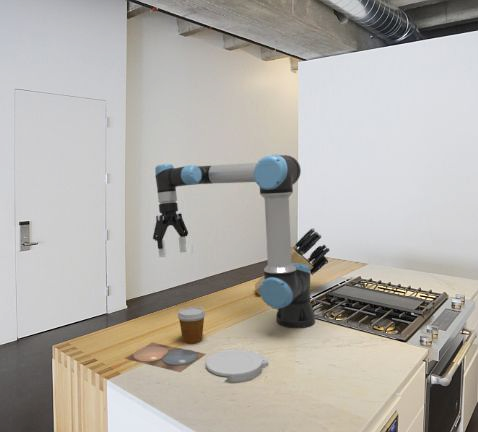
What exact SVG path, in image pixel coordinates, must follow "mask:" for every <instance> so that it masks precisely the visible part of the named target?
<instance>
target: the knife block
mask: <svg viewBox="0 0 478 432" xmlns="http://www.w3.org/2000/svg"><path fill="white" fill-rule="evenodd" d="M320 239H322V235H321V234H320V233H319V232H318V231H316V230H315V228H314V227H312V228H310V229H309V230H308V231H307V232H306V233H305V234H304V235H303V236H302V237H301V238H300V239H299V240H298V241H297V242H296V243H295V245H294V246H291V262H292V263H299V264H306V265H308V266H309V268H310V275H312V276H313V275H314V274H316V273H317V272H318V271H320V270H321V269H322V268H323V267H324V266H325V265H327V264H328V263H329V259H327V257H326V254H328V253H329V252H330V248H329V247H327V245H326V244H323V245H319V246H318V247H316V248H315V249H314V250H313V251H312V252H311V253H310V256H309V257H308V258H306V257H305V256H304V255H305V254H306V253H308V252H309V250H311V249H312V248H313V247H314V246H315V245H316V244H317V242H318V241H320ZM263 281H264V274H263V275H262V276H261V277H260V278H259V280H257V281H256V282H255V283H254V289H255V290H254V291H255V292H256V294H258V295H259V296H260V297H261V295H260V286H261V284H262V282H263Z"/></svg>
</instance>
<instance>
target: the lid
mask: <svg viewBox="0 0 478 432" xmlns="http://www.w3.org/2000/svg"><path fill="white" fill-rule="evenodd" d="M205 367H206V369H207V370H208V371H209V372H210V373H212V374H214V375H216V376H219V377H223V378H224V377H225V378H227V379H225V380H224V382H226V383H241V382H245V381H250V380H251V379H254V378H256V377H257V376H258V375H259V374H261V371H262V370H263V369H264V368H267V367H269V359H268V358H267V356H265V355H262V354H261V353H256V352H255V351H252V350H248V349H243V348H242V349H241V348H240V349H239V348H235V349H232V348H231V349H225V350H220V351H216V352H213V353H212V354H211V355H209V356H208V357H207V359H206V360H205Z"/></svg>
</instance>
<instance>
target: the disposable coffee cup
mask: <svg viewBox="0 0 478 432" xmlns="http://www.w3.org/2000/svg"><path fill="white" fill-rule="evenodd" d="M205 317H206V312H205V310H204V308H202V307H197V306H189V307H184V308H181V309H179V310H178V314H177V318H178V319H179V325H180V326H179V327H180V331H181V337H182V342H183V343H184V344H186V345H195V344H199V343H201V342H202V341H203V334H204V333H203V331H204V322H205V321H204V320H205Z"/></svg>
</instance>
